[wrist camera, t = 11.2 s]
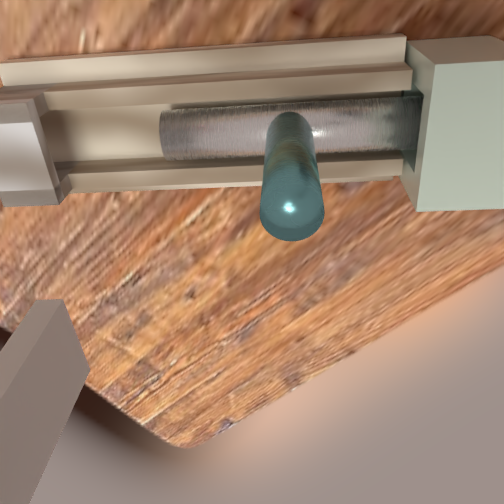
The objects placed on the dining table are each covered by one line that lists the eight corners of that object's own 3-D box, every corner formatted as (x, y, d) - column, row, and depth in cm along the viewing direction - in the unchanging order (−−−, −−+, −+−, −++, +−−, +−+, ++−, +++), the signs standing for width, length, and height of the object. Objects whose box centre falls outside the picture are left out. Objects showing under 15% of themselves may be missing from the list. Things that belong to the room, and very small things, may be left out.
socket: (405, 40, 32) (435, 64, 26) (490, 35, 32) (541, 58, 25) (393, 165, 37) (416, 211, 31) (466, 162, 36) (505, 208, 30)
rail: (6, 59, 34) (-46, 81, 29) (401, 32, 32) (426, 51, 26) (48, 186, 39) (11, 225, 34) (388, 172, 37) (407, 211, 32)
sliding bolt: (167, 104, 33) (106, 188, 22) (461, 87, 32) (561, 168, 20) (174, 150, 35) (122, 249, 24) (453, 136, 34) (541, 237, 22)
